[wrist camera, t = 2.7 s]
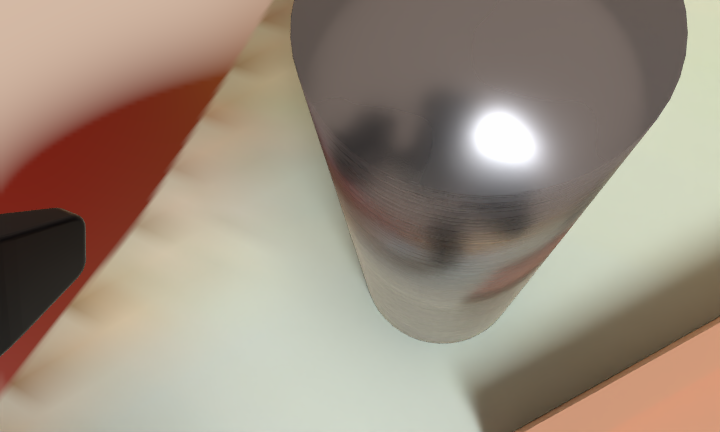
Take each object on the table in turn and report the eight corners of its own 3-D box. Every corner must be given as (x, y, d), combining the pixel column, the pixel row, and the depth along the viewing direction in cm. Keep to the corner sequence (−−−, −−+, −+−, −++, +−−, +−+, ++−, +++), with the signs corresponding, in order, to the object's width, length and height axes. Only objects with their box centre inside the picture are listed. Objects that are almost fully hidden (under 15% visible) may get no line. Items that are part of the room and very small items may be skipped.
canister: (410, 371, 19) (404, 270, 7) (340, 239, 20) (232, -37, 8) (545, 298, 19) (777, 74, 7) (466, 175, 21) (540, -181, 9)
